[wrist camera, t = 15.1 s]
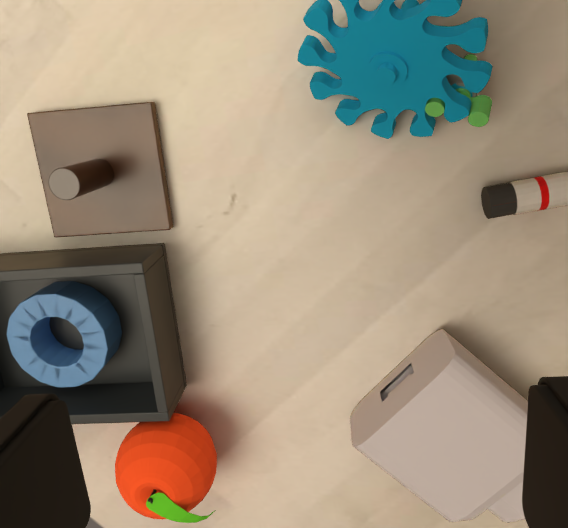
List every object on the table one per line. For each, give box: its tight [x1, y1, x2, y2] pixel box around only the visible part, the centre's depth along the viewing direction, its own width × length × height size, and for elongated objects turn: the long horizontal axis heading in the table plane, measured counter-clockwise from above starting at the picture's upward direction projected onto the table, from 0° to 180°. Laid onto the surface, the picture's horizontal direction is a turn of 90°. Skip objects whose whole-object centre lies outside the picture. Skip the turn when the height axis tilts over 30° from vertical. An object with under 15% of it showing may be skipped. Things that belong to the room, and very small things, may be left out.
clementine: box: [115, 413, 217, 523], centre depth 36 cm, size 8×7×7 cm
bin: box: [0, 243, 187, 424], centre depth 35 cm, size 11×14×4 cm
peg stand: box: [27, 102, 173, 237], centre depth 31 cm, size 8×8×6 cm
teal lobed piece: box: [298, 0, 493, 139], centre depth 28 cm, size 11×6×10 cm
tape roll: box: [6, 281, 122, 387], centre depth 36 cm, size 7×7×3 cm
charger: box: [350, 329, 528, 523], centre depth 35 cm, size 5×9×15 cm
